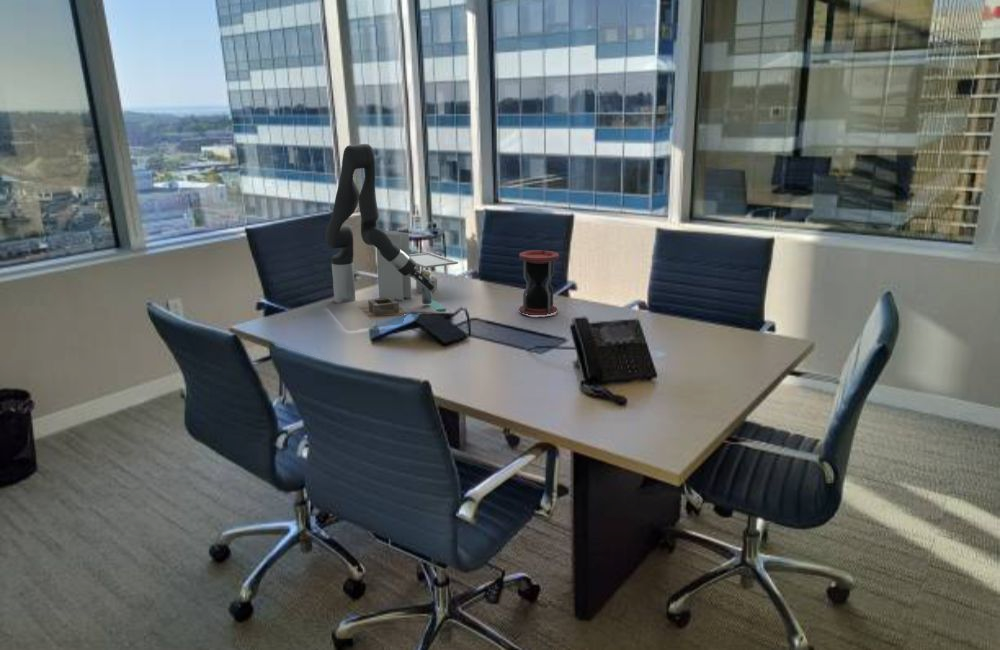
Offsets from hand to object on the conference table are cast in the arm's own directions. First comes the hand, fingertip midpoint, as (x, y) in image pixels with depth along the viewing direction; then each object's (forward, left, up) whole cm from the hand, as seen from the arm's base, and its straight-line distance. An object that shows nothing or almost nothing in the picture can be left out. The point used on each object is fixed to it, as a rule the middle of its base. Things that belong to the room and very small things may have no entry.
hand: (430, 287), depth 292 cm
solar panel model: (-30, +9, -9) cm, 33 cm away
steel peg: (0, -2, -6) cm, 7 cm away
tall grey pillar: (-20, -10, -9) cm, 24 cm away
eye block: (0, -21, -9) cm, 23 cm away
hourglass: (+26, +38, -9) cm, 47 cm away
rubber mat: (0, -2, -9) cm, 9 cm away
